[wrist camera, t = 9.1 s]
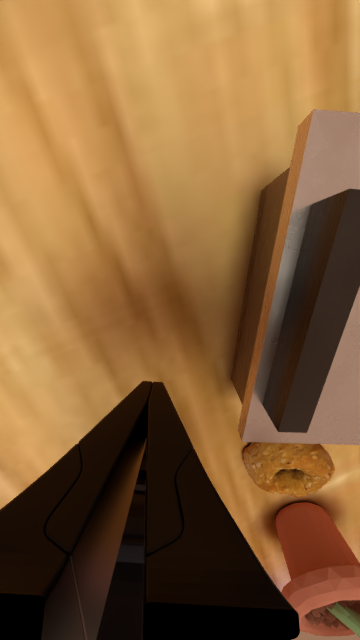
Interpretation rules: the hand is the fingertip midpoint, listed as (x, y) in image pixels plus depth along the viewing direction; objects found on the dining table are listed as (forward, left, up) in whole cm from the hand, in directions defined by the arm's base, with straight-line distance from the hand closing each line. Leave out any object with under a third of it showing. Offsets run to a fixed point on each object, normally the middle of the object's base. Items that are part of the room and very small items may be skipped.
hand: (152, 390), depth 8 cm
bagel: (-20, -17, -13) cm, 30 cm away
